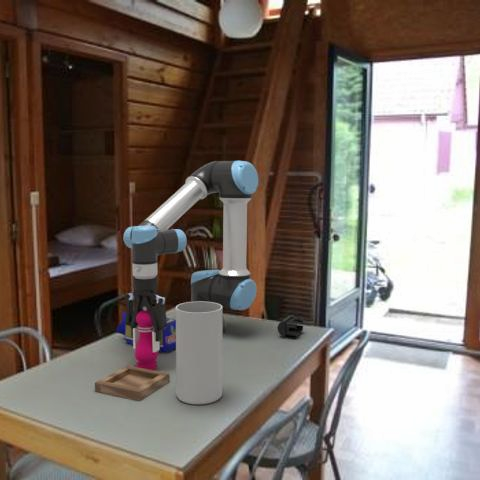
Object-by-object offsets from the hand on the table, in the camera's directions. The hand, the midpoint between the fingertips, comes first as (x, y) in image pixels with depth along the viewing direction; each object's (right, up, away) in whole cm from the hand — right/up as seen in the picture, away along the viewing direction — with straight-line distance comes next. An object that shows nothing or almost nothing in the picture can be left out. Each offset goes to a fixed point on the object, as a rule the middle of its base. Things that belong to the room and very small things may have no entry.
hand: (146, 349), depth 170 cm
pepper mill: (0, -6, +1) cm, 6 cm away
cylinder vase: (+18, -9, -20) cm, 29 cm away
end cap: (+48, -2, +36) cm, 60 cm away
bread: (-3, -3, +24) cm, 25 cm away
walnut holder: (-1, -8, -14) cm, 16 cm away
